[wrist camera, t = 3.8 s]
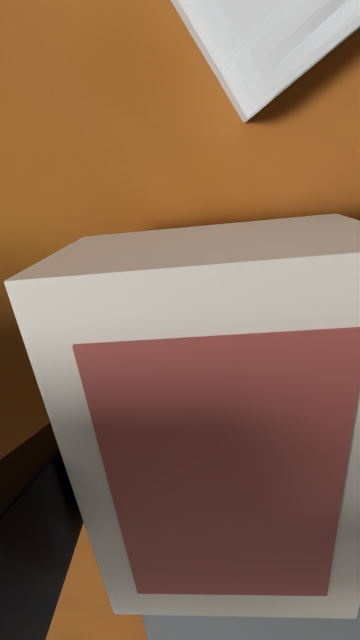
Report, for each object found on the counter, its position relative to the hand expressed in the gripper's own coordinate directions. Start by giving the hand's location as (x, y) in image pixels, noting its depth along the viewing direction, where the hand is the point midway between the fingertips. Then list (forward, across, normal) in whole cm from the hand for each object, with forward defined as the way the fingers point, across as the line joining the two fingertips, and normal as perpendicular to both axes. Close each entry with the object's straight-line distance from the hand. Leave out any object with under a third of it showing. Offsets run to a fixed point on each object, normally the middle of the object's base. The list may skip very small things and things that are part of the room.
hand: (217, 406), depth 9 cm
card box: (+1, 0, 0) cm, 1 cm away
